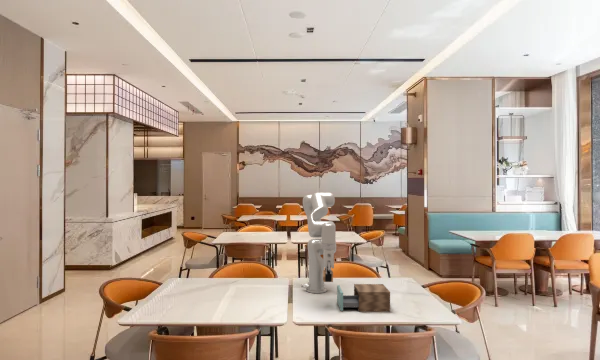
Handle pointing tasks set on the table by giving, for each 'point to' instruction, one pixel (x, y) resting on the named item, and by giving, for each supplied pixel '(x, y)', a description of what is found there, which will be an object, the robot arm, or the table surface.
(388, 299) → the cabinet
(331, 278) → the cube
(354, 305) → the teal drawer
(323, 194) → the robot arm
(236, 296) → the table surface
